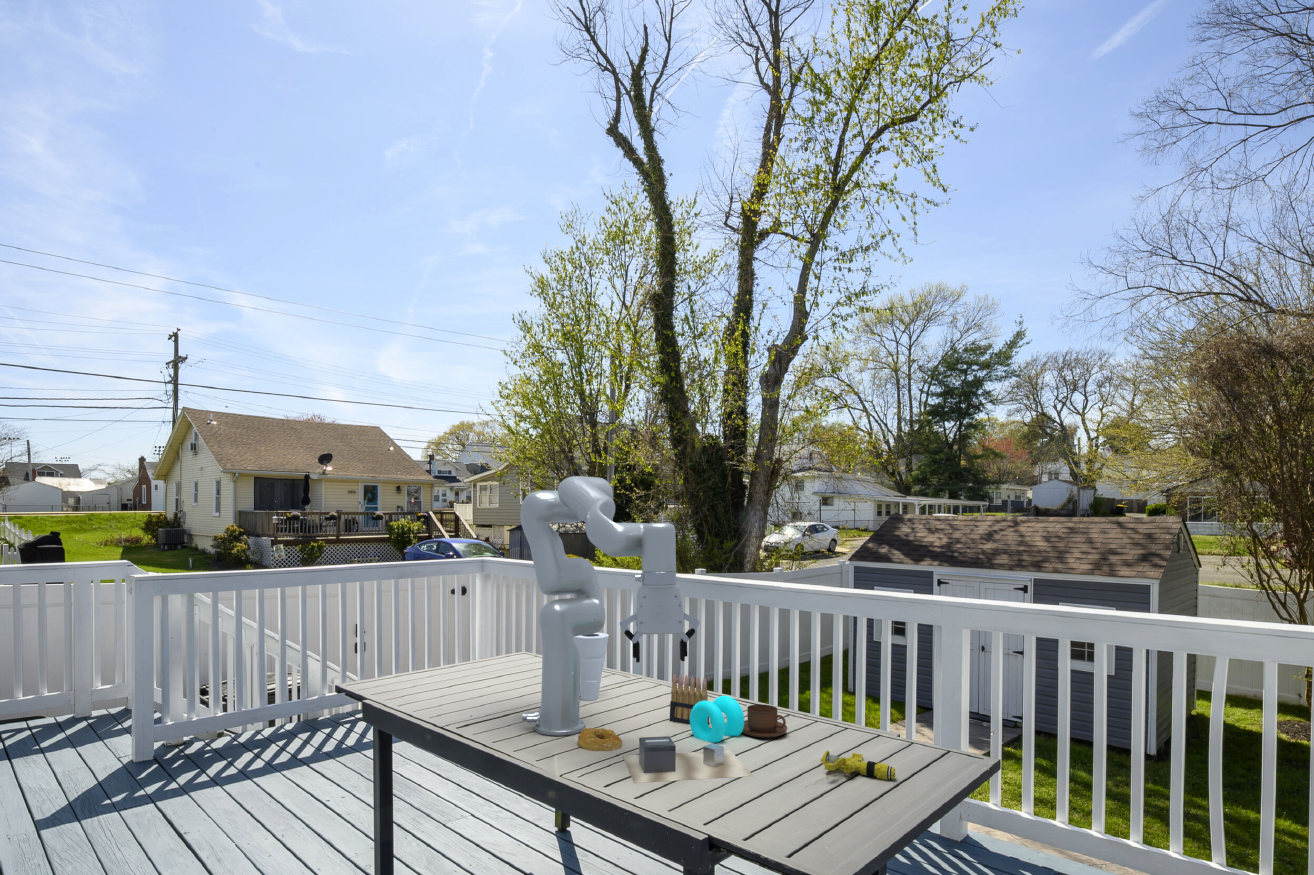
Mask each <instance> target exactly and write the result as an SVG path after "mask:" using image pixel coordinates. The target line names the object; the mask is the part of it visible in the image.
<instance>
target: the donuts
mask: <svg viewBox="0 0 1314 875" xmlns="http://www.w3.org/2000/svg"><path fill="white" fill-rule="evenodd" d="M724 715H725V717H726V720H725V717H724ZM708 717H709V725H708V723H707V718H708ZM744 721H745V714H744V711H743V709H742V706H741V704H740V703H739V702H738V701H737V700H736V699H735V698H733V697H732V696H729V695H721V696H718V697H716V698H715V699H714V700H713V701H710V700H708V701H700V702H698V703H697V704H695V706H694V707H693V709H692V711H691V714H690V725H689V727H690V730H691V733H692V734H693V736H694V738H696V739H698V740H701V741H705V742H708V743H714V744H718V743H720V742H721V741H722V739H723V738H724V736H727V737H740V735H741V734H742V733H743V732H742V730H743V728H744ZM710 725H711V726H710Z"/></svg>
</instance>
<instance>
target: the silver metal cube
mask: <svg viewBox="0 0 1314 875" xmlns="http://www.w3.org/2000/svg"><path fill="white" fill-rule="evenodd" d="M724 748H725V747H724V746H723V745H720V744H718V743H713V742H711V743H708V744H707V745H704V746H703V750H702V752H703V764H705V765H708V766H712V767H717V766H720V765H722V764H724V751H725V749H724Z"/></svg>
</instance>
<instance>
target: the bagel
mask: <svg viewBox="0 0 1314 875" xmlns="http://www.w3.org/2000/svg"><path fill="white" fill-rule="evenodd" d="M577 738H578V739H577V746H578V747H579V748H581V749H583V750H586V751H590V752H613V751H616V750H617V751H618V750H619V749H622V746H623V745H622V744H623V740H622V739H621V737H620V736H619V735H618V734H616V732H615V731H614V730H612V729H607V728H605V727H604V728H596V727H595V728H594V727H585V729H583V730H582V731H581V732H579V734H578V737H577Z"/></svg>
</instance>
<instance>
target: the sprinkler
mask: <svg viewBox="0 0 1314 875" xmlns="http://www.w3.org/2000/svg"><path fill="white" fill-rule="evenodd" d="M863 755H864V754H862V753H856V752H852V753H851V757H843V756H838V755H833V754H830V751H829V750H826V751H825V752H824V753H823V754H822V757H821V758H820V762H821V763H822V764H823V765H824V766H823V767H824V768H823V769H824V770H825V771H835V770H837V769H839V771H842V772H844V773H846V774H851V773H853V772H858V773H860V775H863V776H866V777H868V778H872V779H875V778H877V779H878V780H884V781H888V780H892V781H893V780H896V768H895V767H893V766H890V765H889V764H887V763H881V762H876V761H871V760H868V761H864V759H863V758H864V756H863Z"/></svg>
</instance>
